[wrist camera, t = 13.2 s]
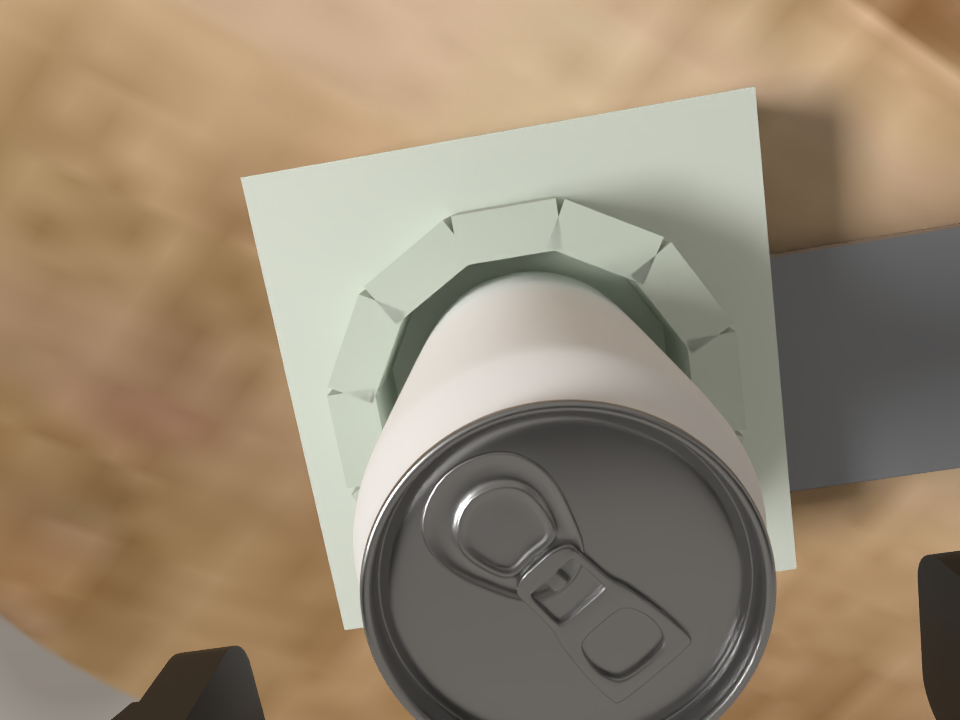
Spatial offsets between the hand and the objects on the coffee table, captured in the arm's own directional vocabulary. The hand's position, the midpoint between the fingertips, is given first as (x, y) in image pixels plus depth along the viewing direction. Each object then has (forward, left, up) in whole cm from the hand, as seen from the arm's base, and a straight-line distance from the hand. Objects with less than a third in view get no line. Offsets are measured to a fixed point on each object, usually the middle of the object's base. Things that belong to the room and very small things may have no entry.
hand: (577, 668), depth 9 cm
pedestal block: (0, 0, -17) cm, 17 cm away
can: (0, 0, -13) cm, 13 cm away
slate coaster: (-12, +2, -17) cm, 21 cm away
